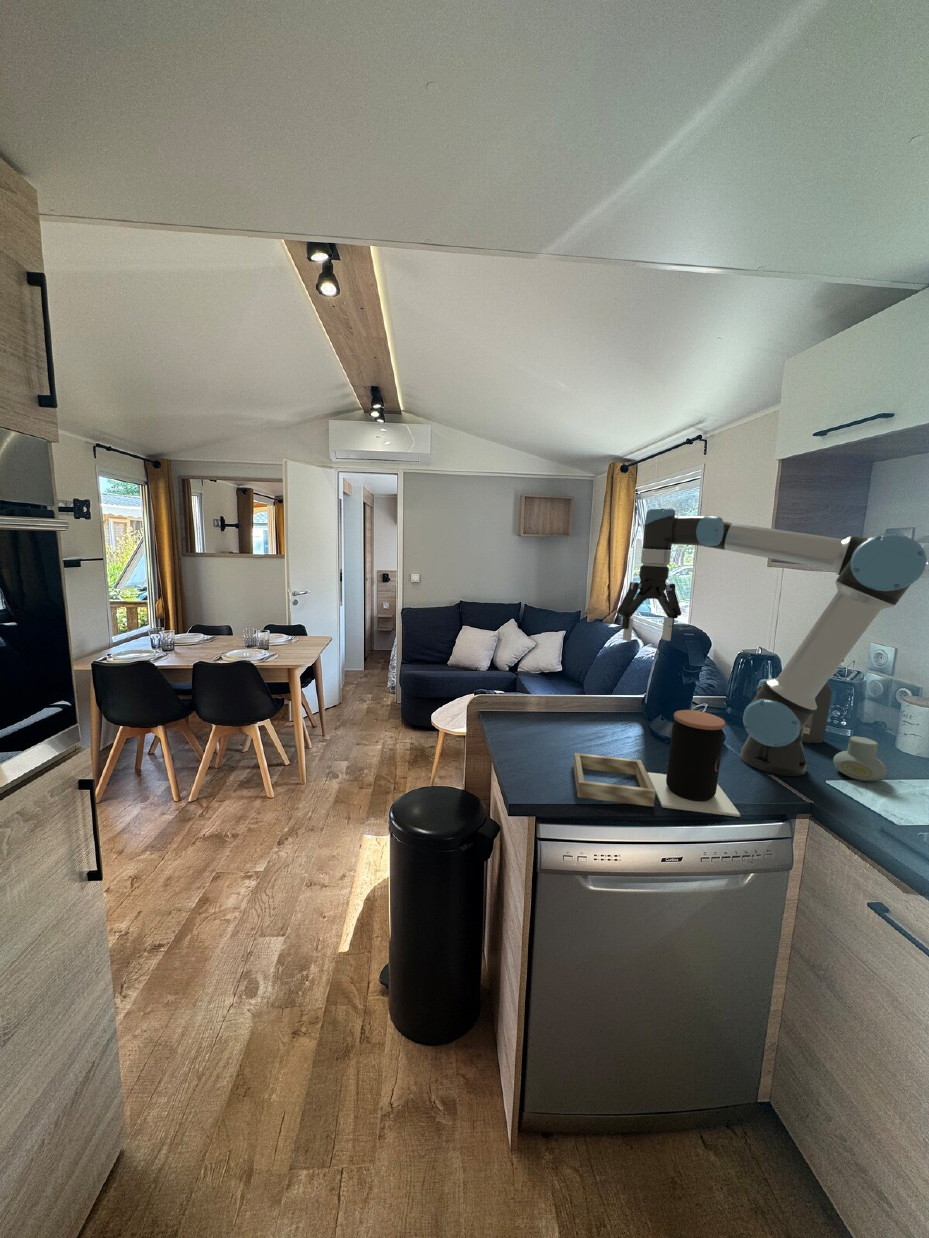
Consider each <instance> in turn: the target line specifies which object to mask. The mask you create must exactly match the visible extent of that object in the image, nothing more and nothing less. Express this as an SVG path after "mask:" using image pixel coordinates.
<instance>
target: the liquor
mask: <svg viewBox="0 0 929 1238" xmlns="http://www.w3.org/2000/svg"><path fill="white" fill-rule="evenodd" d="M832 695H833V691H832V688H831V686H830V685H829V683H828V682H826V684H825V685H824V686H823V688H822V689H821V690H820V692H819V693H818V694H817V696H816V697H815V702H816V705H817V709H816V710H815V711H814V712H813V714H812V715H811V716H810V718H809V719H808V720H807V722H806V723H805V726H804V732H803V738H802V743H806V744H822V743H823V742H824V741H825V737H826V730H827V725H828V719H829V718H828V717H829V712H830V707H831V701H832Z"/></svg>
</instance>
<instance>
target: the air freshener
mask: <svg viewBox="0 0 929 1238" xmlns="http://www.w3.org/2000/svg"><path fill="white" fill-rule="evenodd" d="M846 749H847V750H843V751H840V752H838V753H836V754H835V755H834V756H833V760H832V761H833V764H834V766H835V768H836V769H837V770H838V771H839V772H841V774H843V775H845V776H847V777H849V778H850V779H852V780H855V781H860V782H877V781H880V780H882V779H884V778H885V777H886V775H888V771H887V767H886V766H885V764H884V763H883V762H882V761H881V760H880V759H878V758H877V754H878V749H879V743H878V742H877V741H875V740H873V739H870V738H869V737H868V738H867V737H863V736H862V737H861V736H854V735H853V736H850V737H849V739H848V745H847V748H846Z"/></svg>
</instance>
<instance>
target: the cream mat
mask: <svg viewBox="0 0 929 1238" xmlns="http://www.w3.org/2000/svg"><path fill="white" fill-rule="evenodd" d="M646 772H647V771H646ZM647 775H648V777H649V779H650V781H651V783H652V785H653V787H654V790H655V796H656V797H657V799H658V801H659V803H660V806H661V808H665V809H666V808H667V809H674V810H683V811H689V812H690V811H692V812H698V813H706V814H714V815H720V816H721V815H723V816H731V817H736V818H737V817H738V818H740V817H741V814H740V812H739V810H738V809H737V807H736V806H735V805H734V804H733V802H732V801H731V800H730V799H729V797H728V796H727V794H726V793H725V792H724V790H723V789H722V787H720V785H719V784H718V783H717V789H716V794H715V795H714V797H713V798H711V800H708V801H703V802H699V801H692V800H687V799H684V798H681V797H679V796H677V795H675V794H674V793H672V792H671V791H670V789H669V788H668V786H667V784H666V776H667V773H666V774H664V773H657V772H650V771H649V772H647Z"/></svg>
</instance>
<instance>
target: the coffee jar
mask: <svg viewBox="0 0 929 1238" xmlns="http://www.w3.org/2000/svg"><path fill="white" fill-rule="evenodd" d="M673 718H674V721H673V722H672V726H671V727H672V728H671V735H670V744H669V752H668V753H669V754H668V761H667V769H666V774H667V776H666V784H667V786H668V788H669V789H670V791H671V792H672V793H674V794H675V795H677V796H679V797H681V798H684V799H687V800H692V801H699V802H703V801H708V800H711V798H713V797H714V795H715V794H716V789H717V784H718V781H719V780H718V779H719V776H720V775H719V773H720V766H721V765H720V764H721V761H722V760H721V758H722V752H723V743H724V737H725V733H724V731H723V729H724V728H725V726H726V721H725V719H723V718H722V717H719V716H717V715H715V714H712V713H709V712H704V711H699V710H692V709H682V710H681V709H680V710H676V711H675V712H674V713H673Z"/></svg>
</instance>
